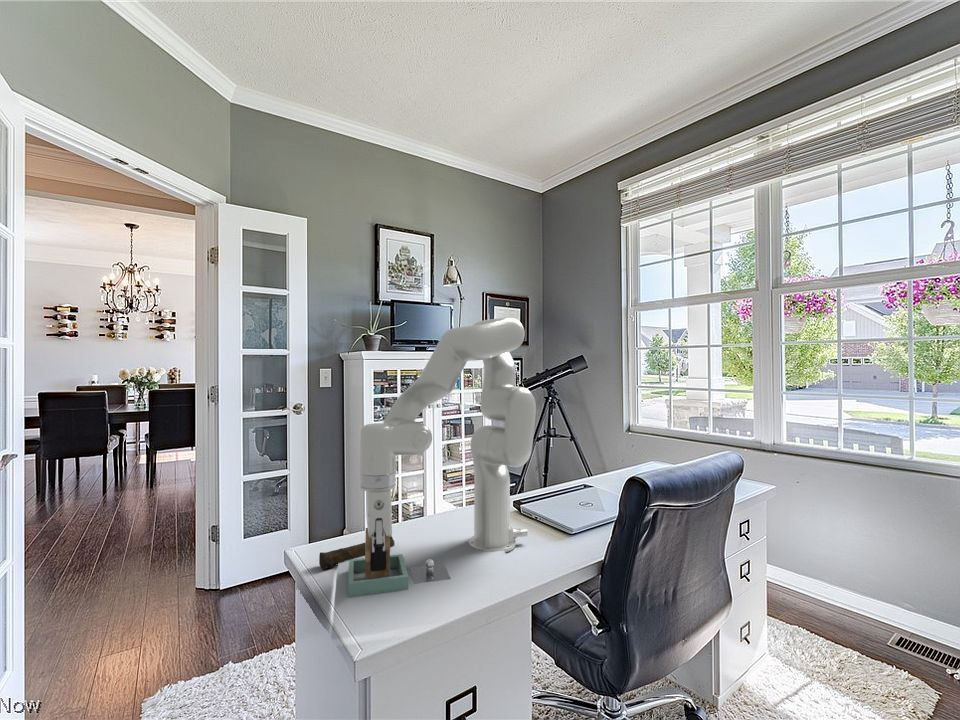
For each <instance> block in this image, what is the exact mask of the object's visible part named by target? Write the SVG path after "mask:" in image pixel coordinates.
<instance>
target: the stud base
mask: <svg viewBox="0 0 960 720" xmlns="http://www.w3.org/2000/svg"><path fill="white" fill-rule="evenodd" d="M409 569H410V574H411V577H412V581H413V583H414V585H415V584H421V583H422V584H423V583H429V582H430V583H431V582H437V581H444V580H445V581H447V580H451V576H450V573H449V572H448V569H447V567H446V566H445V563H438V564H437V563H436V564H435V562H434V560H433V559H430V558H428V559H427V560H426V561H425V565H421V566H413V567H412V566H411V567H409Z"/></svg>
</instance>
